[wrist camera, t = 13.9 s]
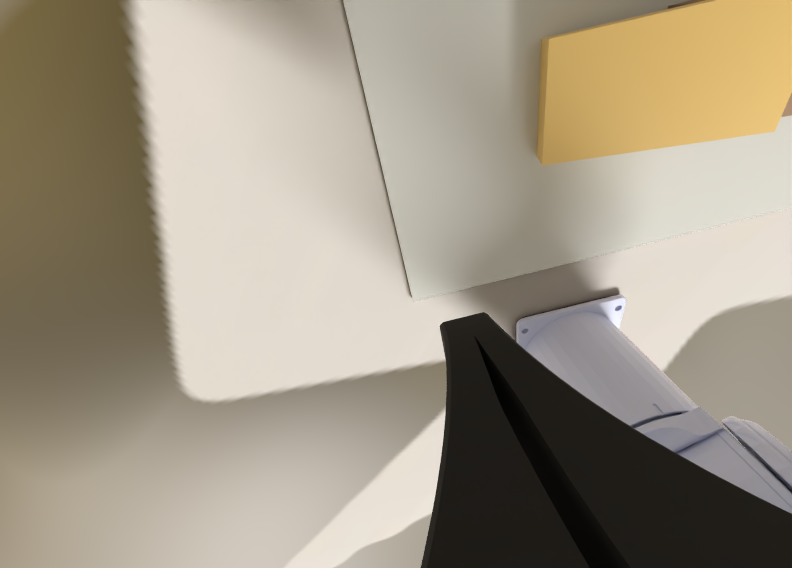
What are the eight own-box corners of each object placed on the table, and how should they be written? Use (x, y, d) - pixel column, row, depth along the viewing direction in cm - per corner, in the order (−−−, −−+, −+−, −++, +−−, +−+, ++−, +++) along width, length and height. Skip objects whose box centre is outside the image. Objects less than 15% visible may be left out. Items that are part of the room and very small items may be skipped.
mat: (905, 176, 21) (914, 177, 21) (412, 298, 22) (413, 302, 22) (1265, -348, 11) (1294, -361, 11) (321, -94, 12) (320, -98, 11)
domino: (536, 155, 17) (748, 123, 15) (542, 165, 16) (774, 131, 14) (541, 38, 14) (804, -24, 12) (549, 39, 13) (844, -30, 11)
